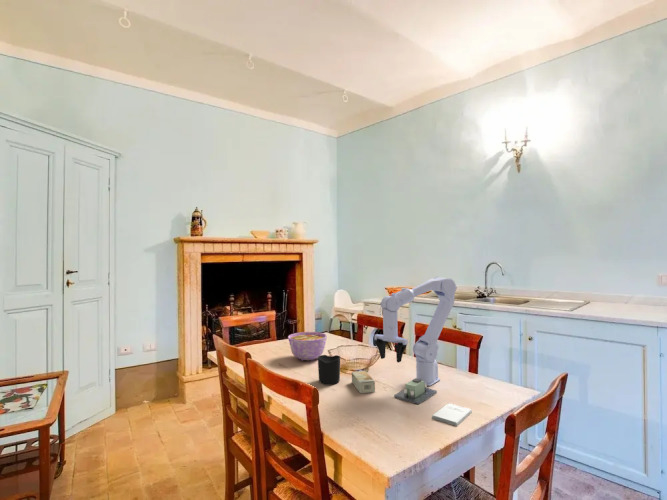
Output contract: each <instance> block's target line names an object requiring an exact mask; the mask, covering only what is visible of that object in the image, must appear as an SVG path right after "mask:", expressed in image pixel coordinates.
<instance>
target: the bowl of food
mask: <svg viewBox="0 0 667 500" xmlns="http://www.w3.org/2000/svg"><path fill="white" fill-rule="evenodd" d="M327 337H328V335H327V334H326V333H323V332H319V331H301V332H295V333H291V334H288V336H287V339H288V342H289V346H290V350H291V354H292V355H293V356H294V357H295V358H297V359H299V360H300V359H301V360H300V361H303V360H311V361H315V360H316V359H318V357H319V356H321V355H323V353H324V351H325V348H326V342H327ZM315 358H316V359H315ZM314 359H315V360H314Z"/></svg>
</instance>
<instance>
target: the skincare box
mask: <svg viewBox="0 0 667 500" xmlns="http://www.w3.org/2000/svg"><path fill="white" fill-rule="evenodd" d="M351 383H352V384H353V385H354V387H355V388H356V390H357V391H358V393H359V394H366V393H367V394H368V393H375V392H376V384H375V383H376V381H375V380H374V379H373V378H372V376H370V374H369V373H368V372H367V371H362V370H361V371H353V372H351Z"/></svg>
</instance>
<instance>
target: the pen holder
mask: <svg viewBox="0 0 667 500" xmlns="http://www.w3.org/2000/svg"><path fill="white" fill-rule="evenodd" d="M317 366H318V367H317V368H318V369H317V370H318V382H319V383H320V384H322V385H328V386H329V385H330V386H331V385H332V386H333V385H336V384H338V383H339V382H340V379H341V378H340V377H341V357H340V355H333V356H332V355H331V356H330V355H326V354H321V356H319V357H317Z"/></svg>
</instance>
